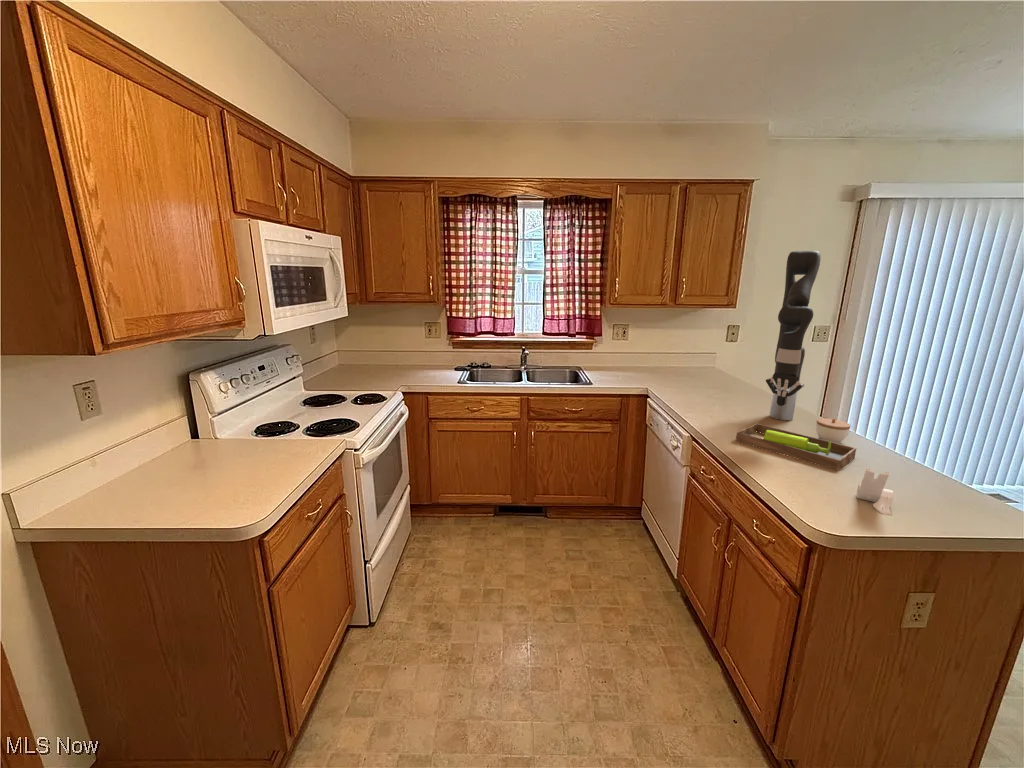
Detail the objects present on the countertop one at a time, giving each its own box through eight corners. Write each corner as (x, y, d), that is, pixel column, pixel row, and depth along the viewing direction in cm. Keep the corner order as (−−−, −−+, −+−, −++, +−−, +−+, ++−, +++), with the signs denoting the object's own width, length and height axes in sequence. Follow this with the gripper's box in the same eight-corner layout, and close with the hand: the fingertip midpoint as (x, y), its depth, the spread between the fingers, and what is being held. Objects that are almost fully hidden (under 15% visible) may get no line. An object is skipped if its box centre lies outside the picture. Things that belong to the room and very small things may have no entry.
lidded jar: (839, 438, 177) (844, 415, 175) (851, 447, 167) (856, 424, 165) (809, 435, 180) (813, 413, 178) (819, 444, 170) (823, 421, 168)
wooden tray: (755, 431, 183) (756, 423, 183) (854, 457, 158) (856, 448, 157) (735, 440, 172) (736, 432, 172) (838, 470, 147) (840, 460, 146)
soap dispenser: (770, 428, 169) (832, 441, 156) (765, 445, 169) (828, 460, 155) (766, 425, 165) (831, 439, 151) (762, 443, 164) (826, 459, 151)
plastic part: (888, 501, 127) (897, 464, 124) (892, 516, 119) (902, 476, 116) (856, 494, 131) (864, 457, 128) (857, 507, 123) (866, 469, 120)
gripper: (812, 362, 160) (804, 407, 164) (773, 356, 170) (766, 399, 174) (804, 364, 156) (796, 411, 160) (764, 359, 166) (758, 403, 170)
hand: (780, 405), depth 167 cm, fingers closed
